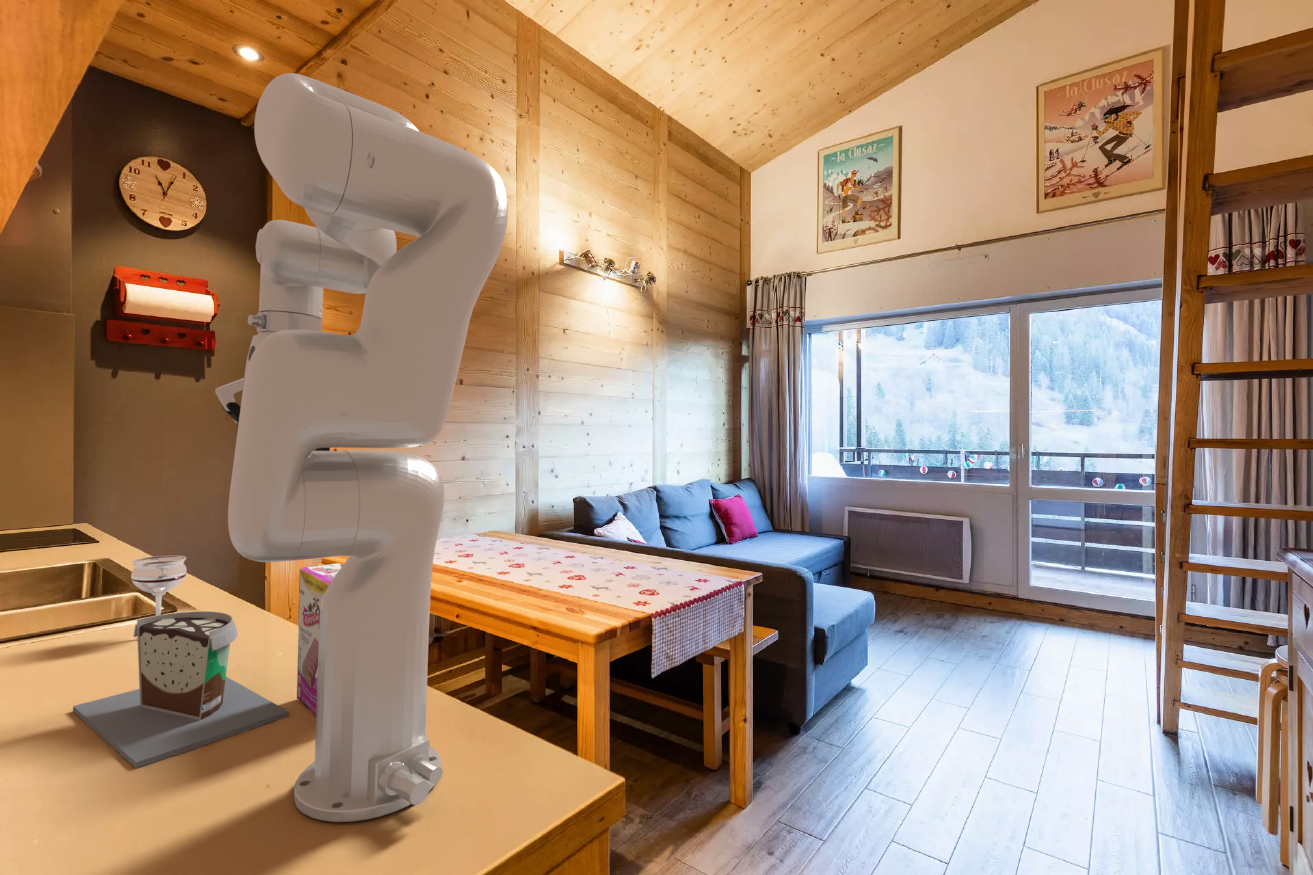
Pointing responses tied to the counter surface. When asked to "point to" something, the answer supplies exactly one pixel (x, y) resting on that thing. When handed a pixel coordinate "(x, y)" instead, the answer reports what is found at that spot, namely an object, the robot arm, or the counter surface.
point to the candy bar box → (311, 629)
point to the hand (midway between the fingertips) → (286, 453)
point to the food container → (184, 661)
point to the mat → (173, 723)
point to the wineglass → (158, 575)
